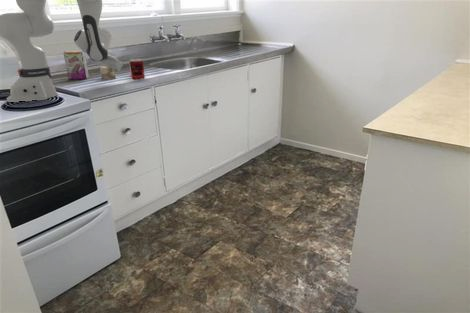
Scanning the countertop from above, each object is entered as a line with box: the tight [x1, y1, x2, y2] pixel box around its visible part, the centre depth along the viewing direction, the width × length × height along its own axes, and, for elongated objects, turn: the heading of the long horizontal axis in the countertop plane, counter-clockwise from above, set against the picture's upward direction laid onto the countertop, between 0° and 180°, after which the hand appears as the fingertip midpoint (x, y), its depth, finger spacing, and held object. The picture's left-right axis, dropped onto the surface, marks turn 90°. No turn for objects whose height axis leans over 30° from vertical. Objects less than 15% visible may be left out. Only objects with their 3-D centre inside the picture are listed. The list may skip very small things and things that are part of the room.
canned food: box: [129, 58, 146, 80], centre depth 215 cm, size 8×8×11 cm
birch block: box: [99, 66, 116, 80], centre depth 218 cm, size 6×6×7 cm
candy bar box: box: [63, 50, 90, 80], centre depth 217 cm, size 11×5×16 cm, turn 92°
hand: (118, 70), depth 206 cm, fingers closed
